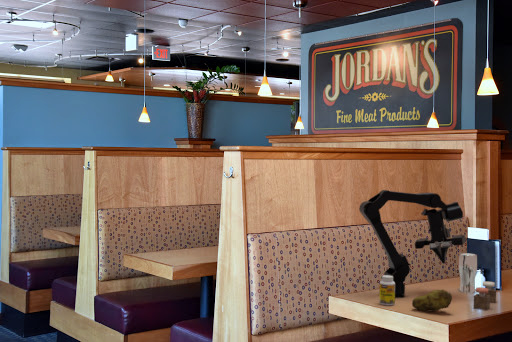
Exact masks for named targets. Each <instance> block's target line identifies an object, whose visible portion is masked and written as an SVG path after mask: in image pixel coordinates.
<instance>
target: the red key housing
mask: <svg viewBox="0 0 512 342" xmlns="http://www.w3.org/2000/svg"><path fill="white" fill-rule="evenodd" d="M490 308H491V302H490V295H485V297H481V296H479V293H475V295H473V309H476V310H483V311H488V310H489V309H490Z"/></svg>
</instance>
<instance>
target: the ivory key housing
mask: <svg viewBox="0 0 512 342" xmlns="http://www.w3.org/2000/svg"><path fill="white" fill-rule="evenodd" d="M485 295H490V303H493V304H494V303H496V302H497V290H496V289H495V287H491V290H488V293H485Z"/></svg>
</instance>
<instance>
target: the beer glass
mask: <svg viewBox="0 0 512 342" xmlns="http://www.w3.org/2000/svg"><path fill="white" fill-rule="evenodd" d="M458 258H459V259H458V271H459V276H460V277H459V278H460V284H459V285H460V286H459V290H458V291H459V292H461V293H465V294H473V293H475V294H476V288H475V287H476V286H475V279H476V275H477V270H478V254H475V253H470V252H469V253H467V252H465V253H464V252H461V253H459V257H458Z"/></svg>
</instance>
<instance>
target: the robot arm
mask: <svg viewBox="0 0 512 342" xmlns="http://www.w3.org/2000/svg"><path fill="white" fill-rule="evenodd" d="M389 201H390V202H391V201H392V202H400V203H401V202H402V203H411V204H416V205H420V206H424V207H426V208H424V209H423V210H422V212H421V213H420V214H421V216H426V218H427V223H428V227H429V228H428V231H429V233H430V236H431V237H430V238H431V239H430V240H429V239H428V238H427V237H425V238H424V237H423V238H418V239H417V240H416V241H415V242H414V249H416V250H419V249H424V247H425V246H429V250H430V251H433V253H435V255H436V256H437V257H438V259H439V260H440V262H441V263H442V264H443V265H445V264H446V261H447V254H448V250H449V248H450V247H451V246H452V245H453V246H463V245H464V244H465V243H466V242H467V238H466V236H465V235H464V234H457V235H453V237H451V230H450V228H447V227H446V224H445V222H444V221H446V222H447V223H448V222H452V221H457V220H462V219H463V218H464V213H463V209H462V208H461V206H460V203H459V202H458V201H453V202H451V203H447V204H446V203H445V202H444V201H443V200H442V197H441V195H439V194H438V193H435V192H429V191H428V192H419V193H418V192H417V193H414V192H413V193H412V192H402V191H401V192H400V191H394V190H389V189H382V190H381V191H379V192H378V193H377V194H375V195H374V196H372V197H371V198H369V199H368V200H364V201H362V202H361V203H360V205H359V207H358V211H359V212H360V214H361V216H363V218H364V219H365V220H366V221H367V222H368V224H370V226H371V228H372V229H373V232H374V233H375V236H376V238H377V239H378V241H379V242H380V245H381V247H382V248H383V251H384V252H385V254H386V256H387V262H388V265H389V268H387V269H386V270H385V272H384V275H389V276H393V281H394V282H395V298H404V296H405V293H406V292H405V291H406V285H405V280H406V278H407V277H408V276H409V274H410V272H411V268H410V266H411V263H409V262H408V259H407V257H406V255H405V254H402V253H401V252H400V253H399V251H398V250H397V249H396V246H395V244H394V243H393V241H392V239H391V236H390V235H389V233H388V231H387V229H386V226H385V225H384V224H383V221H382V216H381V212H380V210H381V209H383V207H384V206H385V205H386V204H387V202H389ZM428 208H431V209H428Z"/></svg>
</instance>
